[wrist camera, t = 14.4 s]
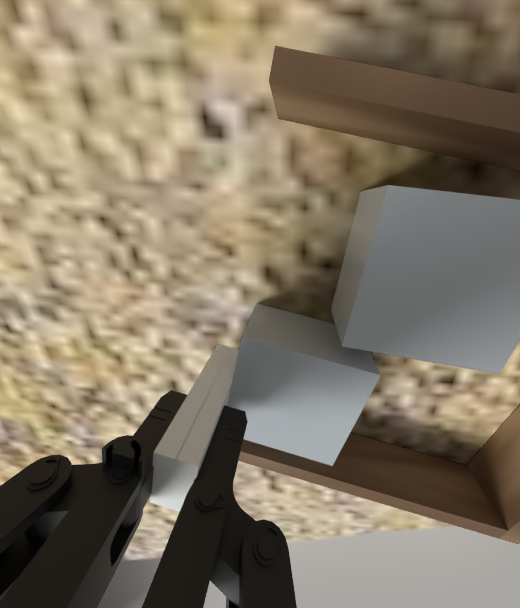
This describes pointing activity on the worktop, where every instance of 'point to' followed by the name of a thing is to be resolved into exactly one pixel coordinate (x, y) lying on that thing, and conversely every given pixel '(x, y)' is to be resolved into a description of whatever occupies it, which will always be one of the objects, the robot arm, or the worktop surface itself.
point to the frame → (435, 138)
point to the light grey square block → (432, 277)
